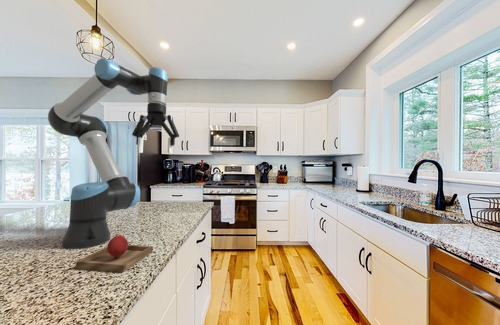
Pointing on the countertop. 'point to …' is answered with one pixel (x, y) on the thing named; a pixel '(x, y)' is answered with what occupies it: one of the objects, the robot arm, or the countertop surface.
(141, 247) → the tray
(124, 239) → the red fruit
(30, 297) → the countertop surface
